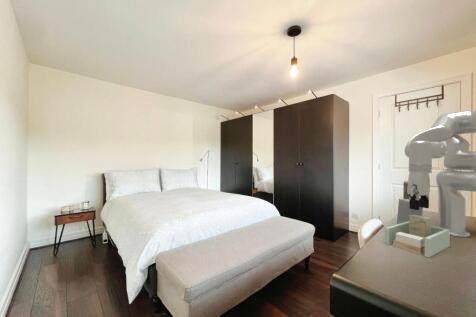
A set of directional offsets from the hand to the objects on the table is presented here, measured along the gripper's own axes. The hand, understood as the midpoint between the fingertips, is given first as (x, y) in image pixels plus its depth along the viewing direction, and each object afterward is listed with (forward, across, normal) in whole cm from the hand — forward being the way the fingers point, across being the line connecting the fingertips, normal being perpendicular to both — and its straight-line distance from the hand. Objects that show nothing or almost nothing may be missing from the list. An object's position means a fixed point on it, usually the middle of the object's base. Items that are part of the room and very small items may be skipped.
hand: (419, 208), depth 89 cm
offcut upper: (+13, +9, 0) cm, 16 cm away
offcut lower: (+16, +9, 0) cm, 19 cm away
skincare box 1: (+15, -20, -10) cm, 27 cm away
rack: (+16, +2, 0) cm, 16 cm away
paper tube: (+15, -30, -14) cm, 36 cm away
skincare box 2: (+16, -1, 0) cm, 16 cm away
